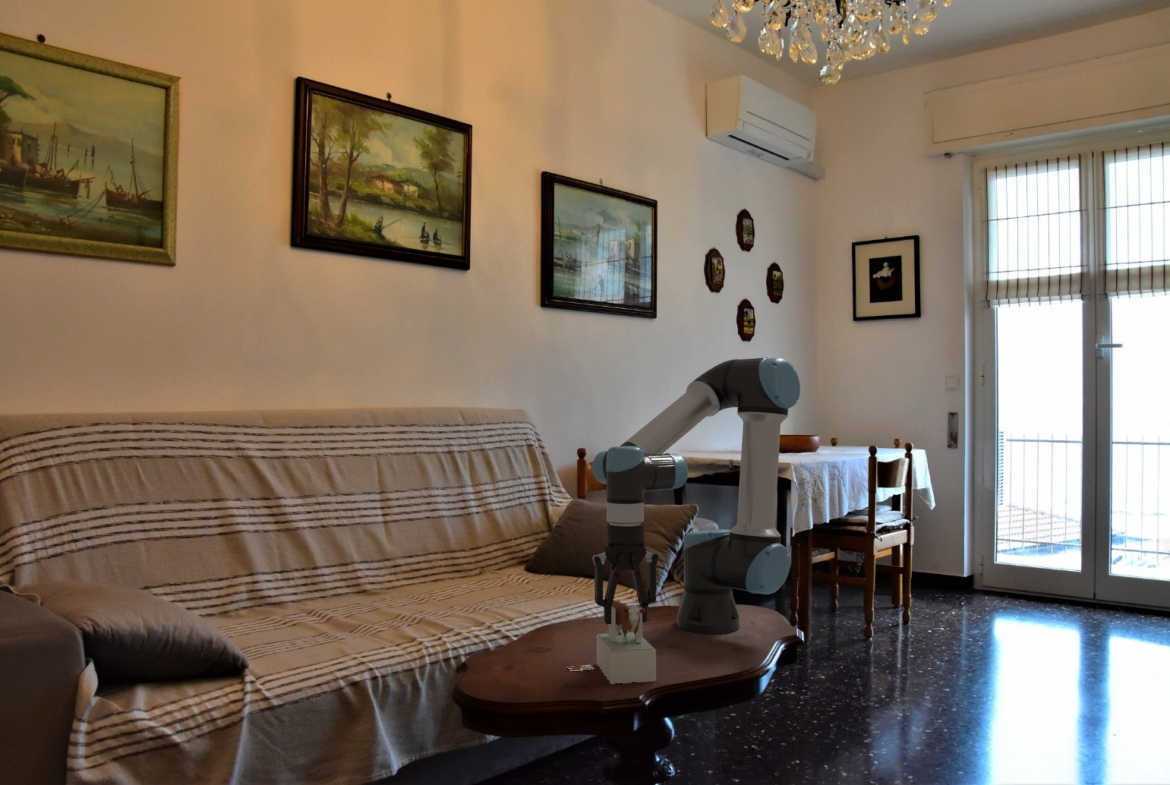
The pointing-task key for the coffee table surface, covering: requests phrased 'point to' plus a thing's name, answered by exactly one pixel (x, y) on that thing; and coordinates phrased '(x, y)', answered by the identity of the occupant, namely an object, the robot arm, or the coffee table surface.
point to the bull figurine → (627, 619)
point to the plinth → (626, 659)
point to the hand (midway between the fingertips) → (625, 638)
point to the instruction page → (583, 668)
